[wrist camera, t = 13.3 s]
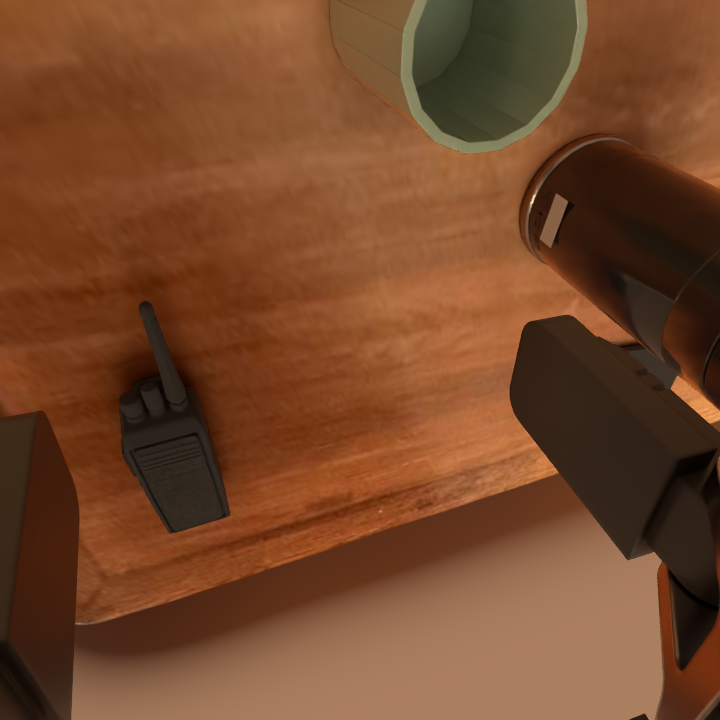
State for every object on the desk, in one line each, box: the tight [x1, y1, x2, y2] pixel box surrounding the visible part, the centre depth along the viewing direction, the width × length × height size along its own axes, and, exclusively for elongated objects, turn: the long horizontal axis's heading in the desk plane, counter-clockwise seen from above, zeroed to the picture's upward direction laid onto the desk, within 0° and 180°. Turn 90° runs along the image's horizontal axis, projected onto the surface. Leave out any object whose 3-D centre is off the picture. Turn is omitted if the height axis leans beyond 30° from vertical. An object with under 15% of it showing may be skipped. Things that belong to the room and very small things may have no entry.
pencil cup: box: [330, 0, 588, 154], centre depth 28 cm, size 8×8×10 cm
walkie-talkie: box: [119, 301, 230, 534], centre depth 39 cm, size 6×6×20 cm
